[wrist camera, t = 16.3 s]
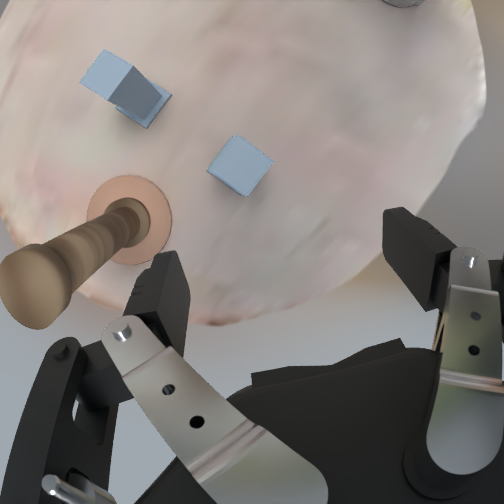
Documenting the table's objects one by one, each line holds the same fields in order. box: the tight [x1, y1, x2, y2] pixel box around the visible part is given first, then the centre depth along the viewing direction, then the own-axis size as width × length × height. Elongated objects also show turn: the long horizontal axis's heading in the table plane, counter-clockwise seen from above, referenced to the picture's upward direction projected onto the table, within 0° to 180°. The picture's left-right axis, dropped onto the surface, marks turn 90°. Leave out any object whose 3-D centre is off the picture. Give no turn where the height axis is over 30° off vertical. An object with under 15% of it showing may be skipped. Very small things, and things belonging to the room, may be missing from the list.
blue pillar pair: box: [79, 49, 274, 197], centre depth 28 cm, size 19×5×13 cm, turn 53°
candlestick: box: [0, 197, 151, 330], centre depth 25 cm, size 6×6×22 cm
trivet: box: [87, 175, 172, 265], centre depth 36 cm, size 11×11×1 cm
